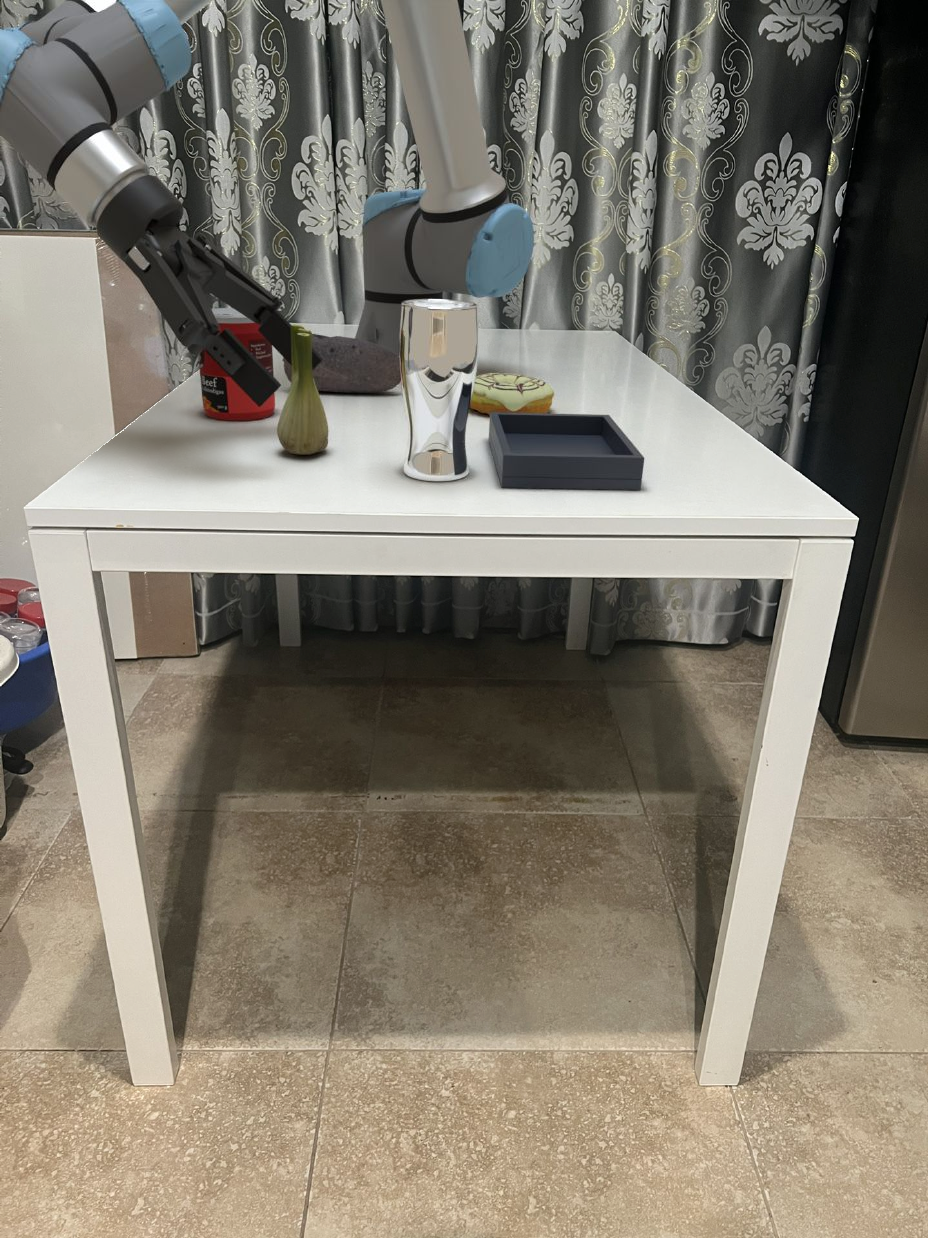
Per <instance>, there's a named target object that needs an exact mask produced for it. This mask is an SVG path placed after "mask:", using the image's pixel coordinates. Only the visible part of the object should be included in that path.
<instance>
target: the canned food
mask: <svg viewBox="0 0 928 1238" xmlns="http://www.w3.org/2000/svg"><path fill="white" fill-rule="evenodd" d="M211 309H212V312H213V314H214V316H215V318H216V320H217V322H218V324H219V326H220V329H221V330H220V332H219V334H221V332H222V331H223V330H224V329H227V328H228V329H229V330H230V331H231V332H232V333H233V334H234V336H235V337H236V338H237V339H238V340H239V341H240V342H241V343H242V344H243V345H244V346H245V347H246V348H247V349H248V350H249V351H250V352H251V353H252V354H253V356H254V357H255V358H256V359H257V360H258V361H259V362H260V363H261V364H262V365H263V366H264V367H265V368H266V369H267V370H268V371H269V372H270V373H271V374H272V375H273V377H274V378H275V375H274V357H273V356H274V355H273V346H272V345H271V343H270V342H269V341H268V340H267V339H266V338H265V337H264V336H263V335H262V334H261V333H260V332H259V331H258V329H259V328H260V327H261V326H259V325H258V324H256V323H255V322H253V321H252V320H250V319H249V318H247V317H246V316H244V315H243V314H241V313H240V312H238V311H236V310H235V309H233V308H232V307H218V308H211ZM205 350H206V349H205V348H204V349H203V351H202V352H201V353H200V354H199V355H198V356H197V357H198V366H199V377H200V386H201V387H200V389H201V399H202V407H203V410H204V413H205V415H206V416H207V417H210V418H211V419H214V420H215V419H216V420H221V421H232V422H233V421H236V422H237V421H239V422H240V421H244V422H245V421H255V420H261V419H266V418H268V417H270V416H272V415H273V414H274V412H275V408H276V395H275V393H276V392H275V393H274V394H273V395H272V396H271V397H270V398H269V399H268V400H267V401H266V402H265V403H264V404H263V405H262V406H261V407H259V406H258V405H257V404H256V403H255V402H254V401H253V400H252V399H251V398H250V397H249V396H248V395H247V394H246V393H245V392H244V391H243V390H242V389H241V388H240V387H239V386H238V385H237V384H236V383H235V382H234V381H233V380H232V379H231V377H230V376H229V375H228V374H227V373H226V372H225V371H224V370H223V369H222V368H221V367H220V366H219V365H218V364H217V363H216V362H215V361H214V360H213V359H212V358H211V357H210V356H209V355H208V354H207V353H206V352H205Z"/></svg>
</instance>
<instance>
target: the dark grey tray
mask: <svg viewBox="0 0 928 1238" xmlns="http://www.w3.org/2000/svg"><path fill="white" fill-rule="evenodd" d="M488 443H489V446H490V450H491V454H492V458H493V461H494V465H495V468H496V472H497V475H498V479H499V483H500V487H501V488H503V489H505V488H508V489H555V490H556V489H557V490H558V489H559V490H560V489H561V490H562V489H563V490H613V491H614V490H618V491H619V490H620V491H641V490H642V482H643V474H644V467H645V466H644V465H645V457H644V455H643V454H642V453H641V452H640V451H639V449H638V448H637V447H636V445H635V444H634V443H633V442H632V441H631V440H630V438H628V436H627V435H626V433H625V432H624V431H623V430H622V429H621V428H620V426H619V425H618V424H617V423H616V422H615V420H614V419H613V418H612V417H611V415H610V414H590V413H589V414H588V413H587V414H586V413H585V414H584V413H548V412H547V413H503V412H490V415H489V424H488Z"/></svg>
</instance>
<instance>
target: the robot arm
mask: <svg viewBox="0 0 928 1238" xmlns="http://www.w3.org/2000/svg"><path fill="white" fill-rule="evenodd" d="M212 1H213V0H65V1H64V2H61V3H59V4H58V5H57V6H56V7H54V8H53V9H51V10H50V11H49V12H48V13H46V14H45V15H44V16H43V17H41V18H39V19H37V20H36V21H26V22H24V23H22V24H21V25H20V26H17V27H16V28H15V27H6V28H4V29H2V28H0V137H2V138H3V139H4V140H5V141H6V142H7V143H8V144H9V146H11V147H12V148H13V149H14V150H15V151H16V153H18V155H20V156H21V157H22V159H24V160H25V162H27V163H28V164H29V166H30V167H32V168H33V169H34V171H36V172H37V173H38V174H39V175H40V176H41V177H42V179H44V181H46V182H47V183H48V185H49V186H50V187H51V188H52V189H53V190H54V191H55V192H56V193H57V194H58V195H59V197H60V198H62V200H64V201H65V203H67V205H68V206H67V210H68V212H69V213H70V214H72V215H73V216H77V215H78V216H79V217H80V218H81V220H83V221H84V222H85V223H86V224H87V225H88V226H89V227H91V228H96V234H97V236H98V238H100V240H101V241H102V242H103V243H104V244H105V245H106V246H107V247H108V248H109V249H110V250H111V251H112V252H113V253H114V254H115V255H116V256H117V257H118V258H119V259H120V261H122V262H123V263H124V264H125V265H126V266H127V267H128V269H129V270H130V271H131V272H132V273H133V274H134V275H135V276H136V277H137V279H138V280H139V281H140V283H141V284H142V286H143V287H144V289H145V291H146V292H147V294H148V295H149V297H150V298H151V299H152V301H153V303H154V305H155V306H156V307H157V309H158V310H159V312H160V314H161V315H162V317H163V318H164V320H165V322H166V323H167V325H168V326H169V328H170V330H171V331H172V332H173V334H174V335H175V337H176V339H177V340H178V342H179V343H180V344H181V345H182V346H183V347H185V348H186V349H187V351H188V352H189V353H190V354H192V355H193V356H195V357H198V355H199V354H200V353H201V352H202V351H203V349H204V348H205V349H206V350H205V352H206V353H207V354H208V355H209V356H210V357H211V358H212V359H213V360H214V361H215V362H216V363H217V364H218V365H219V366H220V367H221V368H222V369H223V370H224V371H225V372H226V373H227V374H228V375H229V376H230V377H231V379H232V380H233V381H234V382H235V383H236V384H237V385H238V386H239V387H240V388H241V389H242V390H243V391H244V392H245V393H246V394H247V395H248V396H249V397H250V398H251V399H252V400H253V401H254V402H255V403H256V404H257V405H258V406H259V407H261V406H262V405H263V404H264V403H265V402H266V401H267V400H268V399H269V398H270V397H271V396H272V395H273V394H274V393H276V392H277V391H278V390H279V389H280V388H281V387H282V384H281V383H280V382H279V380H278V379H276V377H275V376H274V377H273V375H272V374H271V373H270V372H269V371H268V370H267V369H266V368H265V367H264V366H263V365H262V364H261V363H260V362H259V361H258V360H257V359H256V358H255V357H254V356H253V354H252V353H251V352H250V351H249V350H248V349H247V348H246V347H245V346H244V345H243V344H242V343H241V342H240V341H239V340H238V339H237V338H236V337H235V336H234V334H233V333H232V332H231V331H230V330H229V329H228V328H227V329H224V330H223V331H222V332H221V334H219V332H220V330H221V329H220V326H219V324H218V322H217V320H216V318H215V316H214V314H213V312H212V309H213V308H212V307H211V305H210V303H209V301H208V298H207V297H206V295H209V294H211V295H212V296H214V297H215V298H216V299H218V300H220V301H221V302H223V303H224V304H226V305H227V306H229V308H233V309H235V310H236V311H238V312H240V313H241V314H243V315H244V316H246V317H247V318H249V319H250V320H252V321H253V322H255V323H256V324H258V325H259V326H261V327H260V328H259V329H258V331H259V332H260V333H261V334H262V335H263V336H264V337H265V338H266V339H267V340H268V341H269V342H270V343H271V345H272V348H274V349H275V350H276V351H277V353H279V354H280V356H281V357H284V358H285V359H286V360H287V362H288V363H289V364H290V365H291V366H292V356H291V327H292V325H293V324H291V323H290V322H289V321H288V320H287V318H286V317H285V316H284V315H283V314H282V313H281V312H280V311H279V309H280V308H281V307H282V305H283V304H284V303H283V301H282V300H281V298H279V297H278V296H276V295H274V294H273V293H271V292H270V291H269V290H268V289H267V288H266V287H264V286H263V285H262V284H261V283H259V281H257V280H256V279H254V278H253V277H252V276H251V275H249V274H248V273H247V272H246V271H245V270H243V269H242V268H241V267H240V266H239V265H238V264H236V263H235V262H234V261H233V260H232V259H230V258H229V257H228V256H226V255H225V253H223V252H222V251H221V250H219V248H217V246H216V245H215V244H213V243H212V242H211V241H210V239H208V238H207V236H206V235H205V234H203V233H201V232H198V233H196V235H195V236H194V237H191V236H189V235H188V234H187V233H185V232H184V231H182V229H181V227H180V225H181V221H182V219H183V217H184V213H185V209H184V206H183V203H182V202H181V200H180V199H178V198H177V196H176V195H175V194H174V193H173V192H172V191H171V190H170V188H168V187H167V185H165V183H164V182H163V181H162V180H161V179H160V178H159V177H158V176H157V175H151V174H150V173H151V170H150V167H149V165H148V164H147V163H146V162H145V160H143V159H142V158H141V157H140V156H139V155H138V154H137V152H136V151H134V150H133V149H132V147H131V146H130V145H129V144H128V143H127V142H126V141H125V140H124V139H123V138H122V137H121V135H120V134H118V132H116V131H115V129H113V127H112V126H114V125H115V124H116V123H117V122H119V121H121V120H122V119H124V118H125V117H128V115H130V114H132V113H133V112H135V111H137V110H138V109H139V108H141V107H142V106H144V105H146V104H147V103H149V102H150V101H152V100H153V99H155V98H156V97H159V96H160V95H161V94H163V93H164V92H165V93H167V92H169V91H170V90H171V88H172V87H173V86H174V85H175V84H177V83H178V82H179V81H180V80H181V79H183V78H184V77H185V76H187V74H188V73H189V71H190V68H191V65H192V50H191V45H190V42H189V41H190V40H189V38H188V36H187V34H186V33H185V32H186V31H185V30H184V28H183V24H185V23H186V22H188V21H189V20H190V19H192V18H193V17H194V16H195V15H197V13H199V12H200V11H202V10H203V8H205V7H206V6H207V5H209V4H210V3H211V2H212ZM380 3H381V7H382V11H383V16H384V19H385V24H386V27H387V32H388V36H389V39H390V44H391V47H392V48H391V49H392V52H393V56H394V61H395V65H396V68H397V73H398V76H399V80H400V84H401V89H402V92H403V97H404V100H405V105H406V109H407V112H408V116H409V121H410V124H411V125H410V126H411V128H412V129H411V130H412V133H413V137H414V141H415V145H416V149H417V152H418V157H419V161H420V165H421V169H422V174H423V176H424V181H425V188H423V189H422V188H421V189H406V190H392V191H386V192H379V193H374V194H372V195H369V197H368V198H367V199H366V200H365V201H364V204H363V217H362V218H363V219H362V221H363V222H362V224H361V230H362V257H363V258H362V259H363V261H362V263H363V290H364V292H363V293H364V295H363V296H364V300H363V302H364V303H363V309H362V312H361V316H360V320H359V322H358V326H357V329H356V332H355V336H354V338H355V339H360V340H364V341H368V342H371V343H374V344H377V345H380V346H382V347H384V348H386V349H388V350H390V351H391V352H393V353H394V354H395V355H397V356H398V357H399V334H400V321H401V308H402V304H401V303H402V302H403V301H406V300H414V299H444V296H443V294H444V292H445V293H451V294H458V295H466V296H467V295H468V296H472V297H474V298H478V299H479V298H486V297H487V298H501V297H504V296H506V295H508V294H510V293H511V292H512V291H514V290H515V289H516V288H517V287H518V286H519V284H520V283H521V282H522V281H523V279H524V277H525V275H526V274H527V272H528V268H529V265H530V263H531V260H532V257H533V252H534V246H535V231H534V230H535V229H534V224H533V221H532V218H531V216H530V214H529V212H528V211H526V210H525V209H524V208H523V207H522V206H520V205H519V204H515V202H510V196H509V193H508V187H507V183H506V180H505V178H504V177H503V176H502V175H500V174H499V173H497V172H496V171H494V170H493V169H492V168H491V167H492V166H491V163H490V157H489V152H488V148H487V147H488V146H487V142H486V136H485V132H484V127H483V122H482V117H481V111H480V107H479V102H478V97H477V92H476V87H475V81H474V76H473V71H472V67H471V62H470V56H469V53H468V47H467V41H466V37H465V31H464V27H463V22H462V16H461V11H460V6H459V2H458V0H380ZM322 361H323V359H322V357H321V356H320V355H319V354H318V353H317V352H316V351H315V350H314V349H313V348H312V371H313V370H314V369H315V368H316V367H317V366H318V365H319V364H320V363H321V362H322Z"/></svg>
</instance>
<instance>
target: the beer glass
mask: <svg viewBox="0 0 928 1238" xmlns="http://www.w3.org/2000/svg"><path fill="white" fill-rule="evenodd" d="M401 304H402V308H401V321H400V334H399V369H400V378H401V381H400V385H401V391H402V398H403V403H404V409H405V414H406V421H407V434H408V435H407V448H406V454H405V460H404V462H403V463H404V464H403V473H404V474H405V475H406V476H407V477H409V478H412V479H415V480H419V481H425V482H427V481H428V482H452V481H457V480H461V479H463V478H465V477H467V476H468V475H469V462H468V457H467V455H468V454H467V449H466V447H467V446H466V432H467V423H468V418H469V414H470V409H471V407H470V404H471V399H472V394H473V389H474V384H475V378H476V376H477V371H478V359H479V357H478V356H479V327H478V304H477V303H475V302H473V301H467V300H459V299H446V298H443V299H414V300H406V301H403V302H402V303H401Z"/></svg>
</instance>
